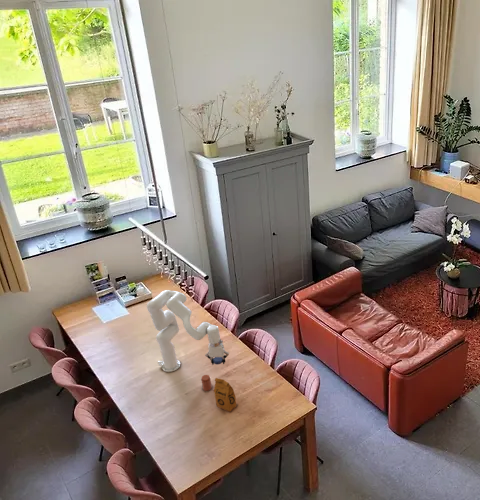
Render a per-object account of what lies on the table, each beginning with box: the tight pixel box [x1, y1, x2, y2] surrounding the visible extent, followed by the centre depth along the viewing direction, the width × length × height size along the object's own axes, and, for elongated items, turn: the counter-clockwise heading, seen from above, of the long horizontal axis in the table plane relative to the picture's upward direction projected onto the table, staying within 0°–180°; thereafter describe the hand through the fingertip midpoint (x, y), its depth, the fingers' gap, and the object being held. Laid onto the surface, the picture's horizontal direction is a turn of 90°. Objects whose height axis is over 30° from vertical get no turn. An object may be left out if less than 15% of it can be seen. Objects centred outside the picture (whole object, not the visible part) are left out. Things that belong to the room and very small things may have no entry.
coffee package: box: [213, 377, 237, 412], centre depth 339 cm, size 10×12×22 cm
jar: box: [200, 374, 213, 392], centre depth 357 cm, size 6×6×9 cm
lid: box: [213, 357, 223, 366], centre depth 358 cm, size 7×7×2 cm
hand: (218, 363), depth 360 cm, fingers closed on lid, 6 cm apart
